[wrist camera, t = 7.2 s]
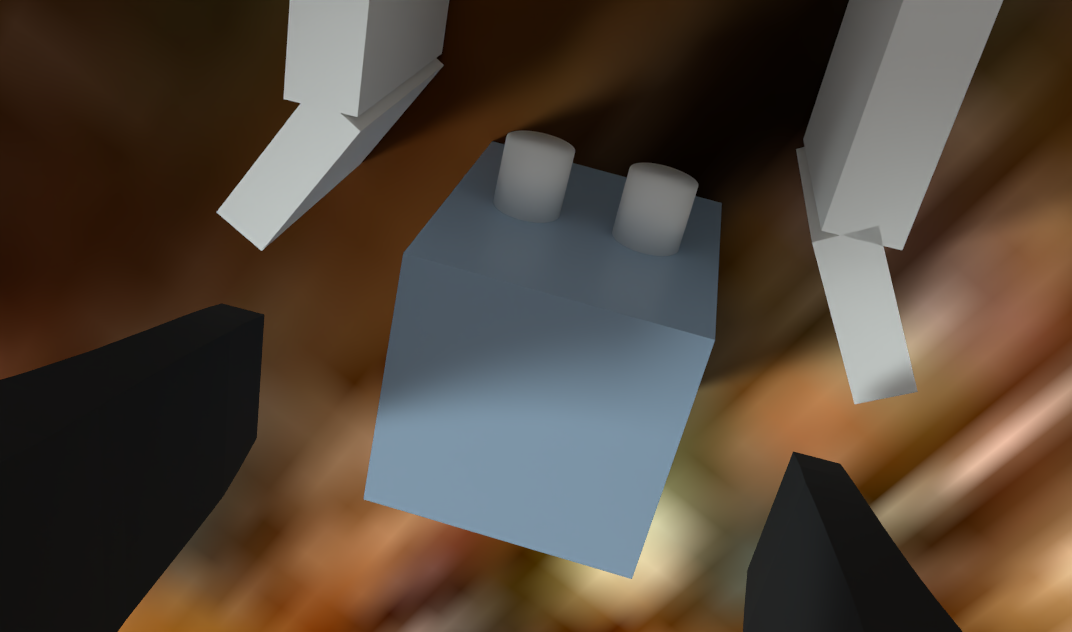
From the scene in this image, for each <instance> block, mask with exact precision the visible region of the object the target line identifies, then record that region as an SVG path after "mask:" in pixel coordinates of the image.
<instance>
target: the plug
mask: <svg viewBox="0 0 1072 632" xmlns="http://www.w3.org/2000/svg"><path fill="white" fill-rule="evenodd" d="M574 155H575V149H574V147H573V146H572V145H571V144H569V143H568V142H566V141H564V140H562V139H560V138H558V137H555V136H552V135H549V134H545V133H541V132H535V131H523V130H522V131H513V132H510V133H508V134H507V136H506V141H505V145H504V144H501V143H497V142H493V141H492V142H491V144H490V145H489V146H488V147H487V149H486V150H485V151H484V152H483V154H482V155H481V156H480V157H479V159H478V160H477V161H476V162H475V164H474V165H473V166H472V167H471V169H470V170H469V171H468V172H467V174H466V175H465V176H464V177H463V179H462V180H461V181H460V183H459V184H458V185H457V186H456V188H455V189H454V190H453V191H452V193H451V194H450V195H449V196H448V198H447V199H446V200H445V201H444V203H443V204H442V205H441V206H440V208H439V209H438V210H437V211H436V213H435V214H434V215H433V216H432V218H431V219H430V220H429V222H428V223H427V224H426V225H425V227H424V228H423V229H422V230H421V232H420V233H419V234H418V235H417V237H416V238H415V239H414V240H413V242H412V243H411V244H410V245H409V247H408V248H407V249H406V250H405V252H404V253H403V259H402V265H401V271H400V277H399V283H398V290H397V296H396V302H395V308H394V314H393V321H392V327H391V333H390V339H389V345H388V351H387V358H386V364H385V370H384V376H383V382H382V389H381V395H380V401H379V407H378V413H377V419H376V426H375V432H374V438H373V444H372V450H371V456H370V463H369V469H368V475H367V481H366V487H365V494H364V499H365V500H368V501H371V502H375V503H378V504H382V505H385V506H388V507H392V508H395V509H398V510H402V511H405V512H408V513H412V514H415V515H418V516H422V517H425V518H429V519H432V520H435V521H439V522H442V523H445V524H449V525H452V526H455V527H459V528H462V529H466V530H469V531H472V532H476V533H479V534H482V535H486V536H489V537H492V538H496V539H499V540H503V541H506V542H509V543H513V544H516V545H519V546H523V547H526V548H529V549H533V550H536V551H540V552H543V553H546V554H550V555H553V556H556V557H560V558H563V559H566V560H570V561H573V562H576V563H580V564H583V565H587V566H590V567H593V568H597V569H600V570H603V571H607V572H610V573H613V574H617V575H620V576H624V577H627V578H630V579H632V577H633V574H634V571H635V568H636V566H637V563H638V560H639V557H640V554H641V551H642V548H643V545H644V543H645V540H646V537H647V534H648V531H649V528H650V525H651V522H652V520H653V517H654V514H655V511H656V508H657V505H658V502H659V500H660V497H661V494H662V491H663V488H664V485H665V482H666V479H667V477H668V474H669V471H670V468H671V465H672V462H673V459H674V456H675V454H676V451H677V448H678V445H679V442H680V439H681V436H682V434H683V431H684V428H685V425H686V422H687V419H688V416H689V413H690V411H691V408H692V405H693V402H694V399H695V396H696V393H697V390H698V388H699V385H700V382H701V379H702V376H703V373H704V370H705V368H706V365H707V362H708V359H709V356H710V353H711V350H712V347H713V345H714V342H715V332H716V312H717V291H718V271H719V251H720V230H721V210H722V203H720V202H716V201H712V200H709V199H705V198H701V197H697V196H696V192H697V189H698V182H697V181H696V180H695V179H694V178H693V177H691V176H690V175H688V174H686V173H684V172H682V171H680V170H677V169H675V168H672V167H668V166H665V165H660V164H655V163H635V164H633V165H631V166H630V168H629V171H628V175H627V177H623V176H620V175H616V174H612V173H608V172H605V171H601V170H597V169H594V168H590V167H586V166H582V165H579V164H575V163H573V159H574Z"/></svg>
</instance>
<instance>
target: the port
mask: <svg viewBox="0 0 1072 632" xmlns="http://www.w3.org/2000/svg"><path fill="white" fill-rule="evenodd" d="M1002 2H1003V0H849V2H848V5H847V8H846V11H845V14H844V17H843V20H842V23H841V26H840V29H839V32H838V35H837V38H836V41H835V44H834V48H833V51H832V54H831V57H830V60H829V63H828V66H827V69H826V72H825V75H824V78H823V81H822V84H821V87H820V90H819V93H818V96H817V99H816V102H815V105H814V108H813V111H812V114H811V117H810V120H809V123H808V126H807V129H806V132H805V135H804V138H803V141H804V146H805V147H802V148H798V149H796V153H797V158H798V164H799V170H800V176H801V182H802V188H803V193H804V199H805V205H806V211H807V217H808V223H809V228H810V234H811V240H812V245H813V248H814V252H815V256H816V260H817V264H818V267H819V271H820V275H821V279H822V283H823V286H824V290H825V294H826V298H827V301H828V305H829V309H830V313H831V317H832V320H833V324H834V328H835V332H836V335H837V339H838V343H839V347H840V351H841V354H842V358H843V362H844V366H845V370H846V373H847V377H848V381H849V385H850V388H851V392H852V396H853V400H854V404H858V403H863V402H868V401H873V400H878V399H884V398H889V397H894V396H899V395H904V394H909V393H914V392H917V387H916V383H915V379H914V375H913V370H912V366H911V362H910V358H909V353H908V349H907V345H906V341H905V336H904V332H903V328H902V324H901V319H900V315H899V311H898V307H897V302H896V298H895V294H894V289H893V285H892V281H891V277H890V272H889V268H888V264H887V260H886V255H885V251H884V247H883V246H886V247H890V248H894V249H898V250H903V247H904V245H905V243H906V240H907V238H908V235H909V233H910V230H911V228H912V225H913V223H914V220H915V218H916V215H917V213H918V210H919V208H920V205H921V203H922V200H923V198H924V195H925V193H926V191H927V188H928V186H929V183H930V181H931V178H932V176H933V173H934V171H935V168H936V166H937V163H938V161H939V158H940V156H941V153H942V151H943V148H944V146H945V143H946V141H947V138H948V136H949V134H950V131H951V129H952V126H953V124H954V121H955V119H956V116H957V114H958V111H959V109H960V106H961V104H962V101H963V99H964V96H965V94H966V91H967V89H968V86H969V84H970V81H971V79H972V77H973V74H974V72H975V69H976V67H977V64H978V62H979V59H980V57H981V54H982V52H983V49H984V47H985V44H986V42H987V39H988V37H989V34H990V32H991V29H992V27H993V24H994V22H995V20H996V17H997V15H998V12H999V10H1000V7H1001V5H1002ZM448 6H449V0H290V6H289V21H288V37H287V52H286V68H285V84H284V99H286V100H290V101H294V102H298V103H301V104H300V105H299V106H298V107H297V109H296V110H295V111H294V113H293V114H292V115H291V116H290V118H289V119H288V120H287V122H286V123H285V124H284V126H283V127H282V128H281V129H280V131H279V132H278V133H277V135H276V136H275V137H274V138H273V140H272V141H271V142H270V144H269V145H268V146H267V147H266V149H265V150H264V151H263V153H262V154H261V155H260V157H259V158H258V159H257V160H256V162H255V163H254V164H253V166H252V167H251V168H250V169H249V171H248V172H247V173H246V175H245V176H244V177H243V179H242V180H241V181H240V182H239V184H238V185H237V186H236V188H235V189H234V190H233V191H232V193H231V194H230V195H229V197H228V198H227V199H226V201H225V202H224V203H223V204H222V206H221V207H220V208H219V210H218V211H217V213H218V214H219V215H220V216H221V217H222V218H224V219H225V220H226V221H227V222H228V223H229V224H231V225H232V226H233V227H234V228H235V229H236V230H238V231H239V232H240V233H241V234H242V235H243V236H245V237H246V238H247V239H248V240H249V241H251V242H252V243H253V244H254V245H255V246H256V247H258V248H259V249H260V250H261V251H262V250H263V249H265V248H266V247H267V246H268V245H269V244H270V243H271V242H273V241H274V240H275V239H276V238H277V237H278V236H279V235H280V234H282V233H283V232H284V231H285V230H286V229H287V228H288V227H290V226H291V225H292V224H293V223H294V222H295V221H296V220H298V219H299V218H300V217H301V216H302V215H303V214H304V213H305V212H307V211H308V210H309V209H310V208H311V207H312V206H313V205H315V204H316V203H317V202H318V201H319V200H320V199H321V198H322V197H324V196H325V195H326V194H327V193H328V192H329V191H330V190H332V189H333V188H334V187H335V186H336V185H337V184H338V183H340V182H341V181H342V180H343V179H344V178H345V177H346V176H347V175H349V174H350V173H351V172H352V171H353V170H354V169H355V168H357V167H358V166H359V165H360V164H361V163H362V162H363V160H364V159H365V158H366V157H367V156H368V154H369V153H370V152H371V151H372V150H373V149H374V147H375V146H376V145H377V144H378V143H379V141H380V140H381V139H382V138H383V137H384V135H385V134H386V133H387V132H388V131H389V130H390V128H391V127H392V126H393V125H394V124H395V122H396V121H397V120H398V119H399V118H400V117H401V115H402V114H403V113H404V112H405V111H406V109H407V108H408V107H409V106H410V105H411V104H412V102H413V101H414V100H415V99H416V98H417V96H418V95H419V94H420V93H421V92H422V90H423V89H424V88H425V87H426V86H427V85H428V83H429V82H430V81H431V80H432V79H433V77H434V76H435V75H436V74H437V73H438V72H439V70H440V69H441V68H442V67H443V66H444V65H443V64H442V63H441V62H440V61H439V60H438V59H437V57H438V56H439V55H441V54H442V49H443V42H444V35H445V28H446V21H447V14H448Z"/></svg>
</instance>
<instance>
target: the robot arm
mask: <svg viewBox="0 0 1072 632" xmlns="http://www.w3.org/2000/svg"><path fill="white" fill-rule="evenodd" d="M263 328H264V314H260V313H256V312H252V311H248V310H244V309H241V308H237V307H233V306H229V305H225V304H219V305H215V306H212V307H208V308H205V309H202V310H199V311H196V312H194V313H191V314H188V315H185V316H183V317H180V318H177V319H175V320H172V321H169V322H167V323H164V324H161V325H159V326H156V327H154V328H151V329H148V330H146V331H143V332H140V333H138V334H135V335H132V336H130V337H127V338H124V339H122V340H119V341H116V342H114V343H111V344H108V345H106V346H103V347H100V348H98V349H95V350H92V351H89V352H86V353H83V354H80V355H77V356H74V357H71V358H68V359H65V360H62V361H59V362H56V363H53V364H50V365H47V366H44V367H41V368H38V369H35V370H32V371H29V372H26V373H23V374H19V375H16V376H12V377H9V378H6V379H2V380H0V632H118V630H119V629H120V628H121V626H122V625H123V623H124V622H125V621H126V619H127V618H128V617H129V615H130V614H131V613H132V612H133V610H134V609H135V608H136V607H137V605H138V604H139V603H140V602H141V600H142V599H143V598H144V597H145V595H146V594H147V593H148V591H149V590H150V589H151V588H152V586H153V585H154V584H155V583H156V581H157V580H158V579H159V578H160V576H161V575H162V574H163V573H164V571H165V570H166V569H167V568H168V566H169V565H170V564H171V562H172V561H173V560H174V559H175V557H176V556H177V555H178V554H179V552H180V551H181V550H182V549H183V547H184V546H185V545H186V544H187V542H188V541H189V540H190V538H191V537H192V536H193V535H194V533H195V532H196V531H197V530H198V528H199V527H200V526H201V524H202V523H203V522H204V521H205V519H206V518H207V517H208V515H209V514H210V513H211V512H212V510H213V509H214V508H215V506H216V505H217V504H218V502H219V501H220V500H221V498H222V497H223V496H224V494H225V492H226V491H227V489H228V487H229V486H230V484H231V482H232V481H233V479H234V477H235V476H236V474H237V472H238V471H239V469H240V467H241V465H242V463H243V462H244V460H245V458H246V456H247V454H248V453H249V451H250V449H251V447H252V445H253V444H254V442H255V440H256V438H257V424H258V408H259V392H260V376H261V360H262V344H263ZM743 632H962V630H961V629H960V628H959V627H958V626H957V624H956V623H955V622H954V621H953V619H952V618H951V617H950V616H949V615H948V613H947V612H946V611H945V610H944V608H943V607H942V606H941V605H940V603H939V602H938V601H937V600H936V599H935V597H934V596H933V595H932V593H931V592H930V591H929V589H928V588H927V587H926V585H925V584H924V583H923V582H922V580H921V579H920V578H919V576H918V575H917V574H916V572H915V571H914V569H913V568H912V567H911V565H910V564H909V563H908V561H907V560H906V558H905V557H904V556H903V554H902V553H901V551H900V550H899V549H898V547H897V546H896V544H895V543H894V542H893V540H892V539H891V537H890V536H889V534H888V533H887V531H886V530H885V529H884V527H883V526H882V524H881V523H880V521H879V520H878V518H877V517H876V515H875V514H874V512H873V511H872V509H871V508H870V506H869V505H868V503H867V502H866V500H865V499H864V497H863V496H862V494H861V493H860V491H859V490H858V488H857V487H856V485H855V484H854V483H853V481H852V480H851V478H850V477H849V475H848V474H847V472H846V471H845V470H844V468H843V467H842V466H841V464H839V463H835V462H831V461H827V460H824V459H820V458H816V457H812V456H808V455H804V454H800V453H797V452H793V454H792V456H791V459H790V461H789V464H788V467H787V469H786V472H785V474H784V477H783V480H782V482H781V485H780V487H779V490H778V492H777V495H776V498H775V500H774V503H773V505H772V508H771V511H770V513H769V516H768V518H767V521H766V524H765V526H764V529H763V531H762V534H761V537H760V539H759V542H758V544H757V547H756V549H755V552H754V555H753V557H752V560H751V562H750V565H749V568H748V571H747V583H746V595H745V608H744V624H743Z"/></svg>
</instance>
